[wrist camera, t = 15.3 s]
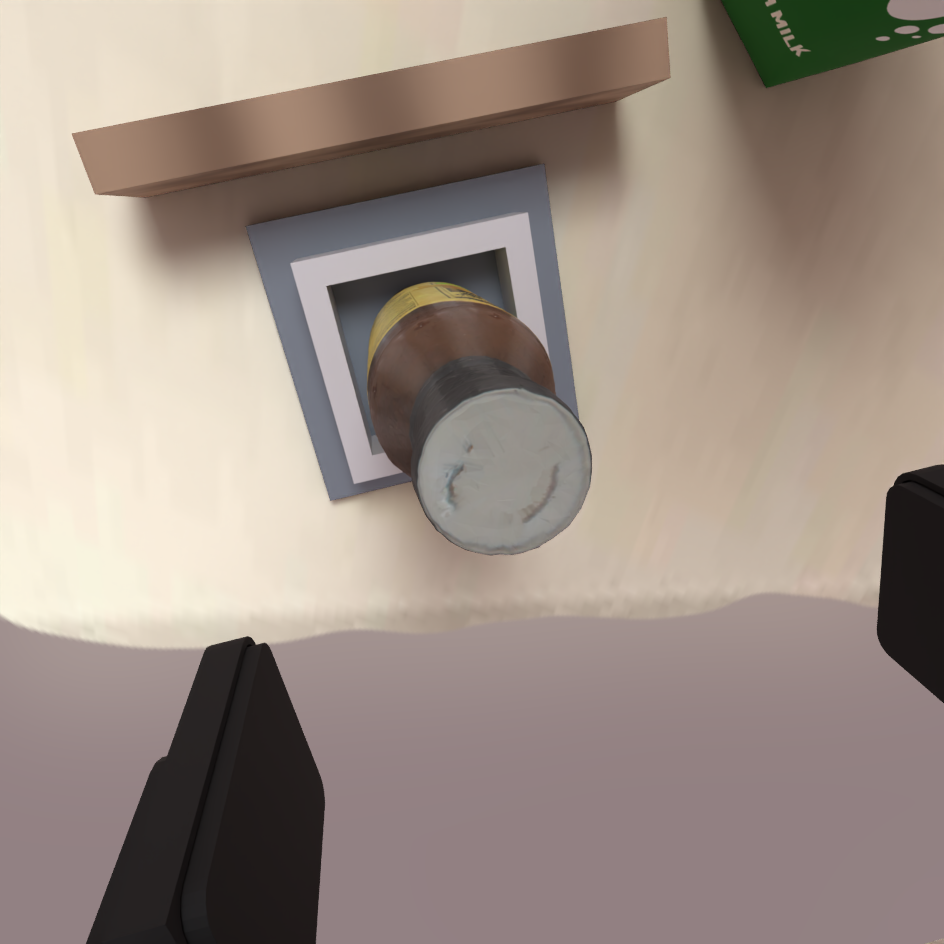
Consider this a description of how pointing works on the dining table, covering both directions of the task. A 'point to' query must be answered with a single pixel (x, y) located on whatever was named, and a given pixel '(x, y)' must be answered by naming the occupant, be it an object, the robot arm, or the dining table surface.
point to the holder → (383, 275)
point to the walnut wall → (373, 111)
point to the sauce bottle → (475, 419)
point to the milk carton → (828, 32)
